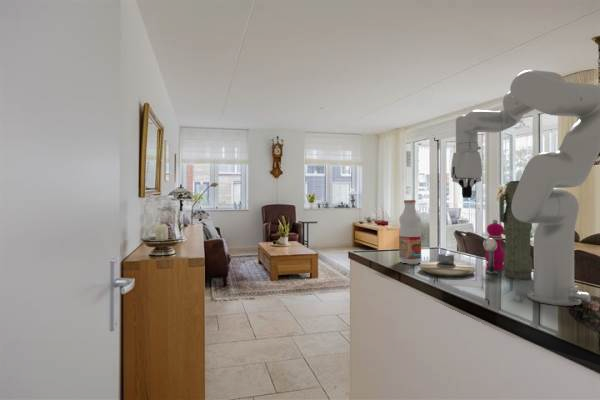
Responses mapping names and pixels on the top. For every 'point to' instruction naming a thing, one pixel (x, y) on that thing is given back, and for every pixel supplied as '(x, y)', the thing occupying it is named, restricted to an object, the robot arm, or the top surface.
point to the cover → (446, 261)
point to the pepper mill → (495, 233)
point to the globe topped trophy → (490, 253)
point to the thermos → (515, 239)
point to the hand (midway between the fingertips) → (466, 197)
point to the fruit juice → (410, 234)
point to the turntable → (458, 270)
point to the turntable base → (446, 275)
